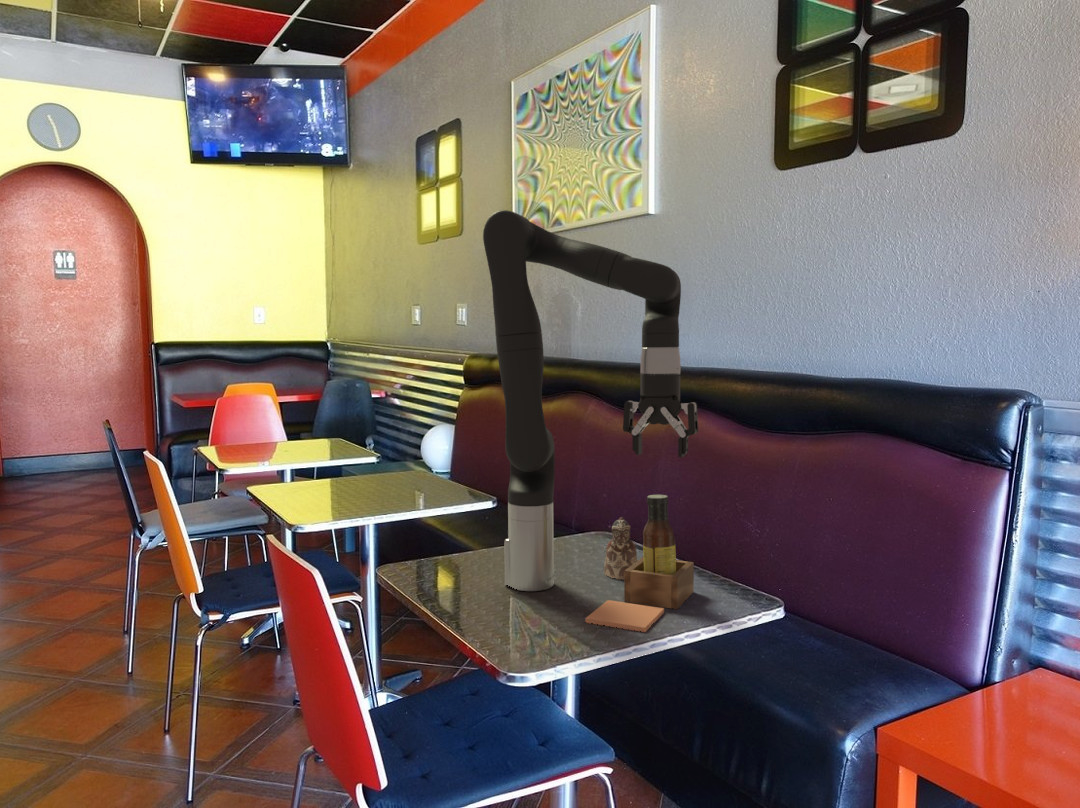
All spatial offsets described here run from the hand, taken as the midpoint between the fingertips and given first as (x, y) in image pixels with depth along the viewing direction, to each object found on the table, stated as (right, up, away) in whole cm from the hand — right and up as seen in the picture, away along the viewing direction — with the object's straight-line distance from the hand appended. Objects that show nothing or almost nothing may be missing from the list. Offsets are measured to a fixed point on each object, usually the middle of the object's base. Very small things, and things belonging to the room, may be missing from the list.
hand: (660, 455), depth 150 cm
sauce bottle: (0, -28, +2) cm, 28 cm away
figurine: (-6, -27, +17) cm, 32 cm away
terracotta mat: (-8, -29, -10) cm, 31 cm away
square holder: (0, -28, +2) cm, 28 cm away
